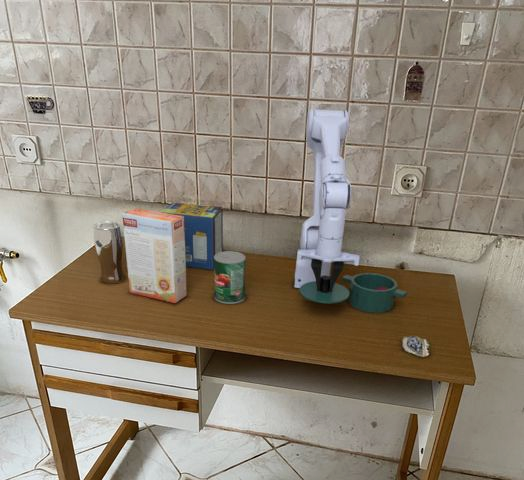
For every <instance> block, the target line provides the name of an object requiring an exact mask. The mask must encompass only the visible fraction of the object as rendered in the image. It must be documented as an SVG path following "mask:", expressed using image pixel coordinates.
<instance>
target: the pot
mask: <svg viewBox="0 0 524 480" xmlns="http://www.w3.org/2000/svg"><path fill="white" fill-rule="evenodd" d="M341 282H345V283H348V284H350V287H349V297H348V304H349V305H350V306H351V307H353V308H354V309H356V310H358V311H362V312H366V313H371V314H372V313H374V314H379V313H380V314H381V313H386V312H389V311H391V310H393V308H394V307H395V306H394V305H395V300H396V297H397V298H399V299H404V298H405V297H406V296H407V294H408V292H407V291H406V290H403V289H398V282H397V281H396V280H395V279H394V278H392V277H390V276H387V275H384V274H380V273H375V272H374V273H373V272H363V273H358V274H355V275H348V274H345V275H344V276H342V277H341ZM378 287H386V288H387V290H376V289H377V288H378Z"/></svg>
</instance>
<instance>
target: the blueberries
mask: <svg viewBox="0 0 524 480" xmlns="http://www.w3.org/2000/svg"><path fill="white" fill-rule="evenodd" d="M401 341H402V348H403V349H404V351H405V352H408V353H409V354H413V355H415V356H417V357H421V358H425V357H428V356H429V354H430V353H429V352H430V351H429V350H428V349H429V348H430V347H429V343H430V342H429V341H428V340H427V339H425V338H421V337H419V336H417V335H410V336H409V337H408V336H403V337H402V340H401Z"/></svg>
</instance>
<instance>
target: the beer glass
mask: <svg viewBox="0 0 524 480" xmlns="http://www.w3.org/2000/svg"><path fill="white" fill-rule="evenodd" d="M122 235H123V234H122V230H121V224H120V223H119V222H117V221H108V220H107V221H99V222H96V223H94V224H93V239H94V245H95V247H94V248H95V250H96V254H97V257H98V260H99V263H100V267H101V268H100V269H101V272H100V273H101V275H100V280H101V282H102V283H103V284H108V285H116V284H121V283H122V282H124V280H125V274H124V272H123V266H122V265H123V264H122V263H123V248H124V245H123V244H124V243H123V236H122Z"/></svg>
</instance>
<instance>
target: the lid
mask: <svg viewBox="0 0 524 480" xmlns="http://www.w3.org/2000/svg"><path fill="white" fill-rule="evenodd" d="M331 278H332V276H331V275H330V276H321V282H320V291H319V290H317V284H316V281H313V282H308V283H305V284H303V285H302V286H301V287H300V288H299V294H300V296H302V297H303V298H305V299H306V300H308V301H311V302H315V303H319V304H338V303H342V302H345V301H347V300H349V293H350V290H349V289H348V288H347V287H346V286H344V285H341V284H340V283H336V282H335V284H334V286H333V290H332V292H329V289H330V283H331Z"/></svg>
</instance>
